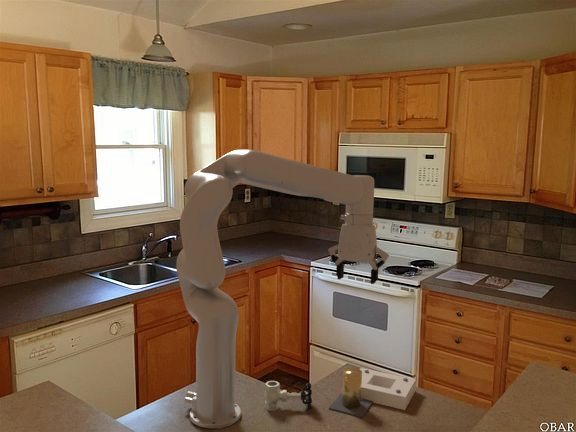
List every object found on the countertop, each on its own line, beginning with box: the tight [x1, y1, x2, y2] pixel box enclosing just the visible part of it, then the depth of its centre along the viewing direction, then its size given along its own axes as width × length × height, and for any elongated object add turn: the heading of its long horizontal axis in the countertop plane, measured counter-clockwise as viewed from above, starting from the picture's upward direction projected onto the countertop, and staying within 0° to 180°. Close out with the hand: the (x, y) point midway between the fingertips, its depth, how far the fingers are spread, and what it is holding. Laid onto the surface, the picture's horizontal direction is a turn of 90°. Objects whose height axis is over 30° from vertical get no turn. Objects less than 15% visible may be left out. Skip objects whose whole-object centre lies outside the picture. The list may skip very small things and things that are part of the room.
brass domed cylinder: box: [341, 367, 362, 409], centre depth 135 cm, size 5×5×9 cm
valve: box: [263, 380, 313, 412], centre depth 133 cm, size 7×7×12 cm
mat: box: [328, 393, 374, 418], centre depth 135 cm, size 9×9×1 cm
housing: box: [358, 367, 417, 411], centre depth 142 cm, size 16×12×4 cm
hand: (356, 280), depth 145 cm, fingers open, 9 cm apart
